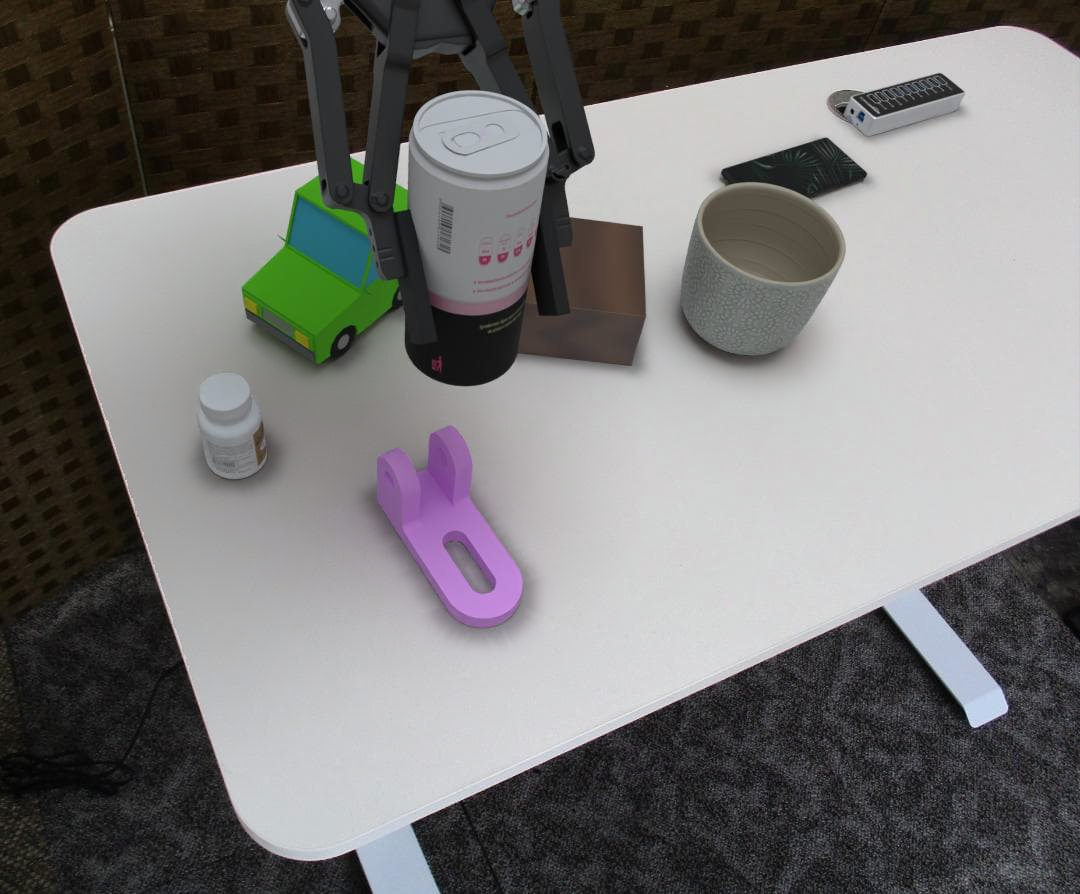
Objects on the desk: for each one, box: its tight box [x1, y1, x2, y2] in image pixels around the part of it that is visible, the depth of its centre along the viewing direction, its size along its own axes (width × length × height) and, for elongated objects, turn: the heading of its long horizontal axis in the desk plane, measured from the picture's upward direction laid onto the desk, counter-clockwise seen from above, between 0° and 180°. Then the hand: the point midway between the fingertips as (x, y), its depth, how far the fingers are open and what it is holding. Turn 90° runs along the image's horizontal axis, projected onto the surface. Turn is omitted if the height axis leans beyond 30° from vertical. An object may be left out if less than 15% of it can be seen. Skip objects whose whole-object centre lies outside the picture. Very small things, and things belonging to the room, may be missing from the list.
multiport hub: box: [842, 72, 966, 137], centre depth 112 cm, size 4×14×2 cm, turn 120°
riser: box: [517, 216, 647, 366], centre depth 85 cm, size 11×11×6 cm
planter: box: [680, 182, 847, 356], centre depth 85 cm, size 12×12×11 cm
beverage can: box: [403, 89, 549, 388], centre depth 52 cm, size 6×7×15 cm
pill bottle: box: [196, 372, 268, 480], centre depth 71 cm, size 4×4×8 cm
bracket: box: [376, 424, 524, 629], centre depth 69 cm, size 13×6×7 cm, turn 33°
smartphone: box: [720, 137, 868, 199], centre depth 103 cm, size 7×1×15 cm
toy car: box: [241, 156, 408, 365], centre depth 80 cm, size 10×13×10 cm
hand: (490, 327), depth 52 cm, fingers closed on beverage can, 6 cm apart
